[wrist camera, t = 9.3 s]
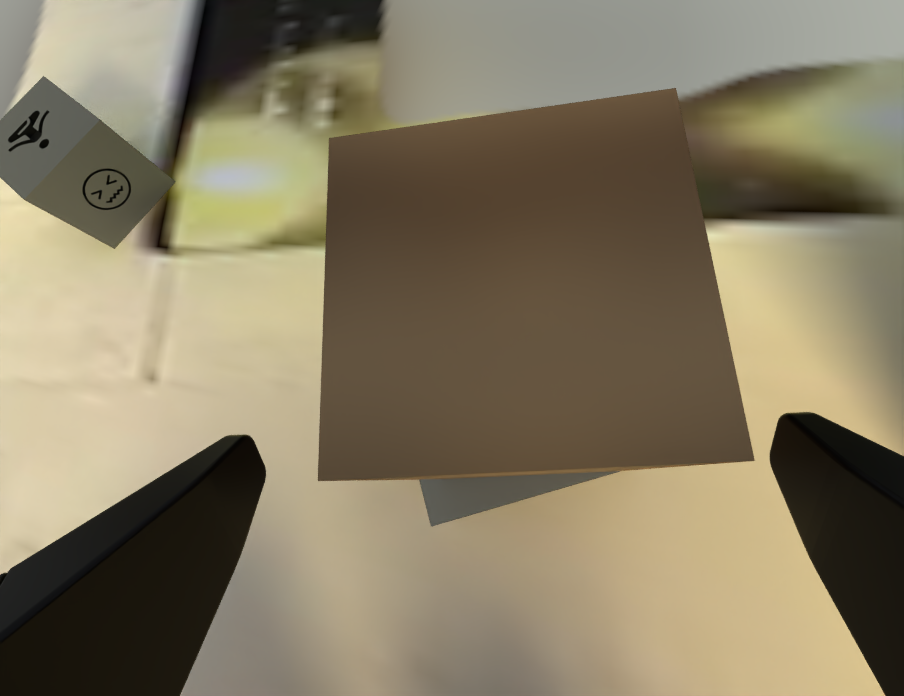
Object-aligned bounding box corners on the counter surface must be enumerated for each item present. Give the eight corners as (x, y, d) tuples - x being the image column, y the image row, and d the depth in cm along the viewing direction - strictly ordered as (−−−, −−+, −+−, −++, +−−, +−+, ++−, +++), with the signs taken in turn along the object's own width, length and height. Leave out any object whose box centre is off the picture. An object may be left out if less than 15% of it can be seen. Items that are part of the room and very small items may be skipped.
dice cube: (125, 143, 28) (43, 76, 24) (176, 182, 27) (99, 119, 22) (67, 205, 28) (-30, 149, 23) (115, 249, 26) (23, 199, 22)
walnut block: (614, 471, 16) (754, 460, 6) (437, 479, 16) (318, 480, 7) (592, 302, 17) (675, 88, 8) (432, 317, 18) (329, 137, 9)
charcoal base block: (634, 462, 19) (660, 459, 16) (450, 516, 20) (431, 526, 16) (567, 291, 22) (575, 252, 18) (404, 344, 22) (378, 317, 19)
